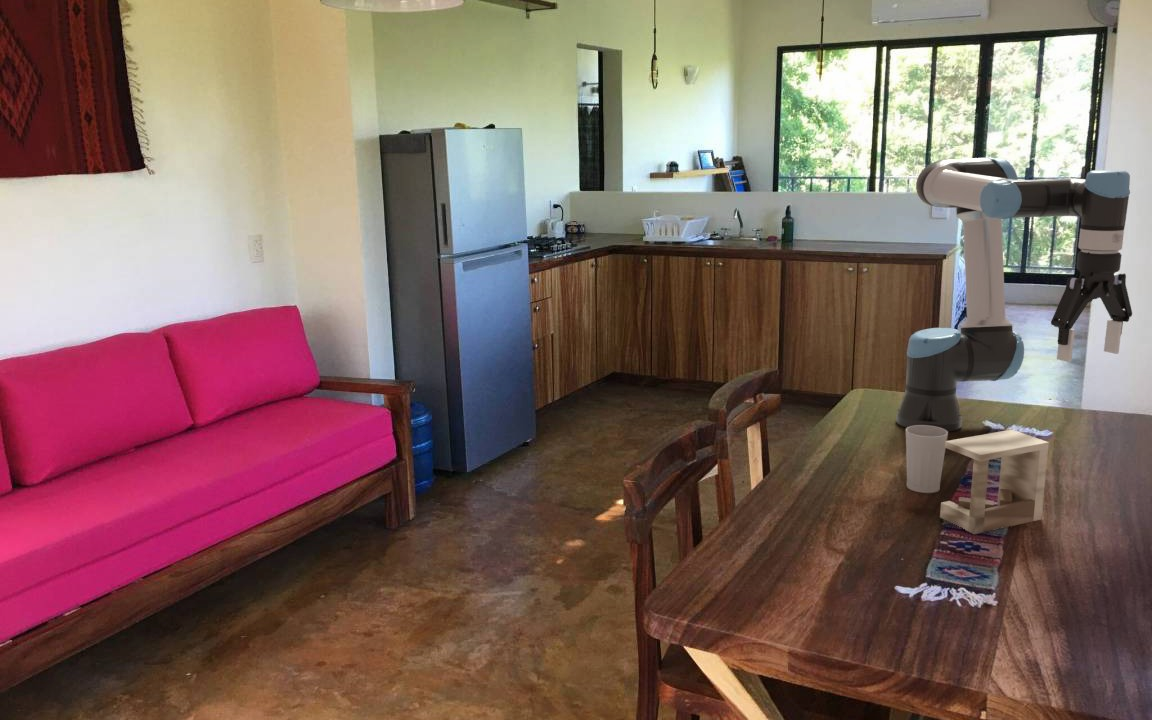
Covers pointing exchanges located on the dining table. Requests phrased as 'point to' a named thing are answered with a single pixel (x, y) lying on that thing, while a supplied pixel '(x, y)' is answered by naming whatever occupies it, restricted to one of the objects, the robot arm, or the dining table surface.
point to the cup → (925, 457)
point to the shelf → (1000, 481)
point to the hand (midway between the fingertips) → (1087, 356)
